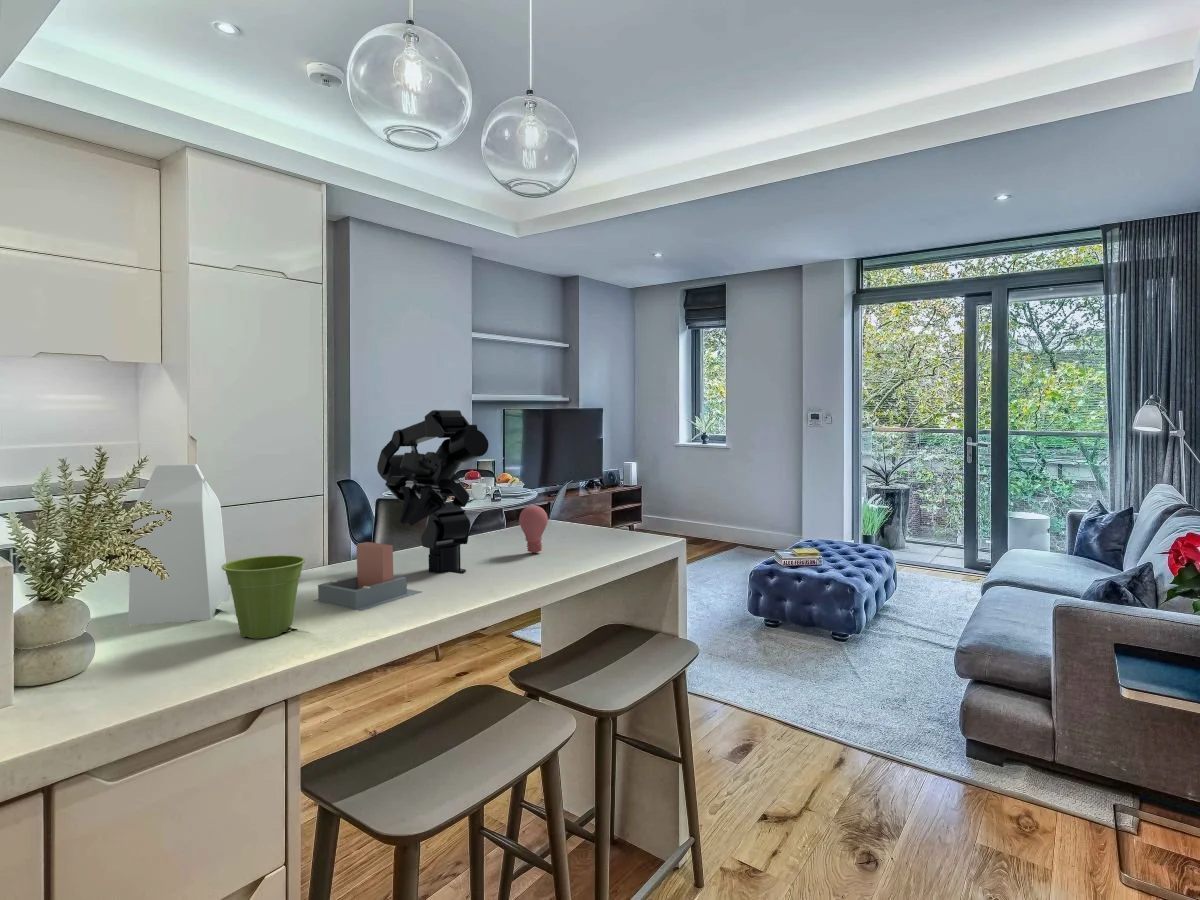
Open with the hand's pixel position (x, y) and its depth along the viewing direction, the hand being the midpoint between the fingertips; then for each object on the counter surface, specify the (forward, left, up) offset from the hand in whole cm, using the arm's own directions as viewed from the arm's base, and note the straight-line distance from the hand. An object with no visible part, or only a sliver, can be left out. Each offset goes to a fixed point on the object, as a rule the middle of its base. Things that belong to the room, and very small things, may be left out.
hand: (405, 524), depth 128 cm
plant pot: (+29, 0, -13) cm, 32 cm away
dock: (+9, 0, -13) cm, 16 cm away
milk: (+30, -23, -13) cm, 40 cm away
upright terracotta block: (+8, 0, -12) cm, 14 cm away
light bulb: (-41, +1, -13) cm, 43 cm away
